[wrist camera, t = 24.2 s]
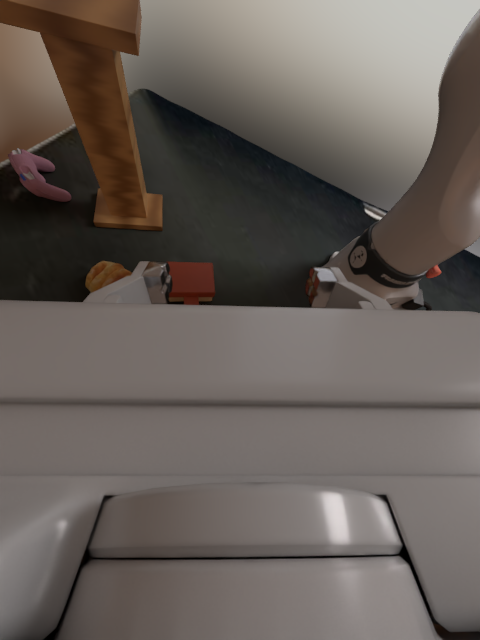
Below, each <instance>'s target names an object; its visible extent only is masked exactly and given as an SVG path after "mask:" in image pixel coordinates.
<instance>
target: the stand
mask: <svg viewBox="0 0 480 640" xmlns="http://www.w3.org/2000/svg"><path fill="white" fill-rule="evenodd" d="M141 18H142V17H141V8H140V0H0V23H4V24H8V25H12V26H16V27H20V28H24V29H28V30H33V31H37V32H40V34H41V37H42V39H43V42H44V44H45V47H46V49H47V52H48V54H49V57H50V60H51V62H52V65H53V67H54V70H55V72H56V75H57V78H58V80H59V83H60V85H61V88H62V90H63V93H64V96H65V98H66V101H67V103H68V106H69V108H70V111H71V113H72V116H73V119H74V121H75V124H76V126H77V129H78V132H79V134H80V137H81V139H82V142H83V144H84V147H85V150H86V152H87V155H88V157H89V160H90V162H91V165H92V168H93V170H94V173H95V175H96V178H97V180H98V183H99V186H100V188H101V189H98V194H97V201H96V208H95V214H94V221H93V222H94V224H95V226H96V227H108V228H124V229H140V230H156V231H163V198H162V195H158V194H148V193H146V189H145V183H144V178H143V173H142V167H141V162H140V157H139V151H138V146H137V141H136V135H135V130H134V125H133V119H132V114H131V109H130V103H129V98H128V93H127V88H126V82H125V77H124V71H123V66H122V61H121V55H120V52H124V53H128V54H132V55H137V56H138V55H139V44H140V30H141Z"/></svg>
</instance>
